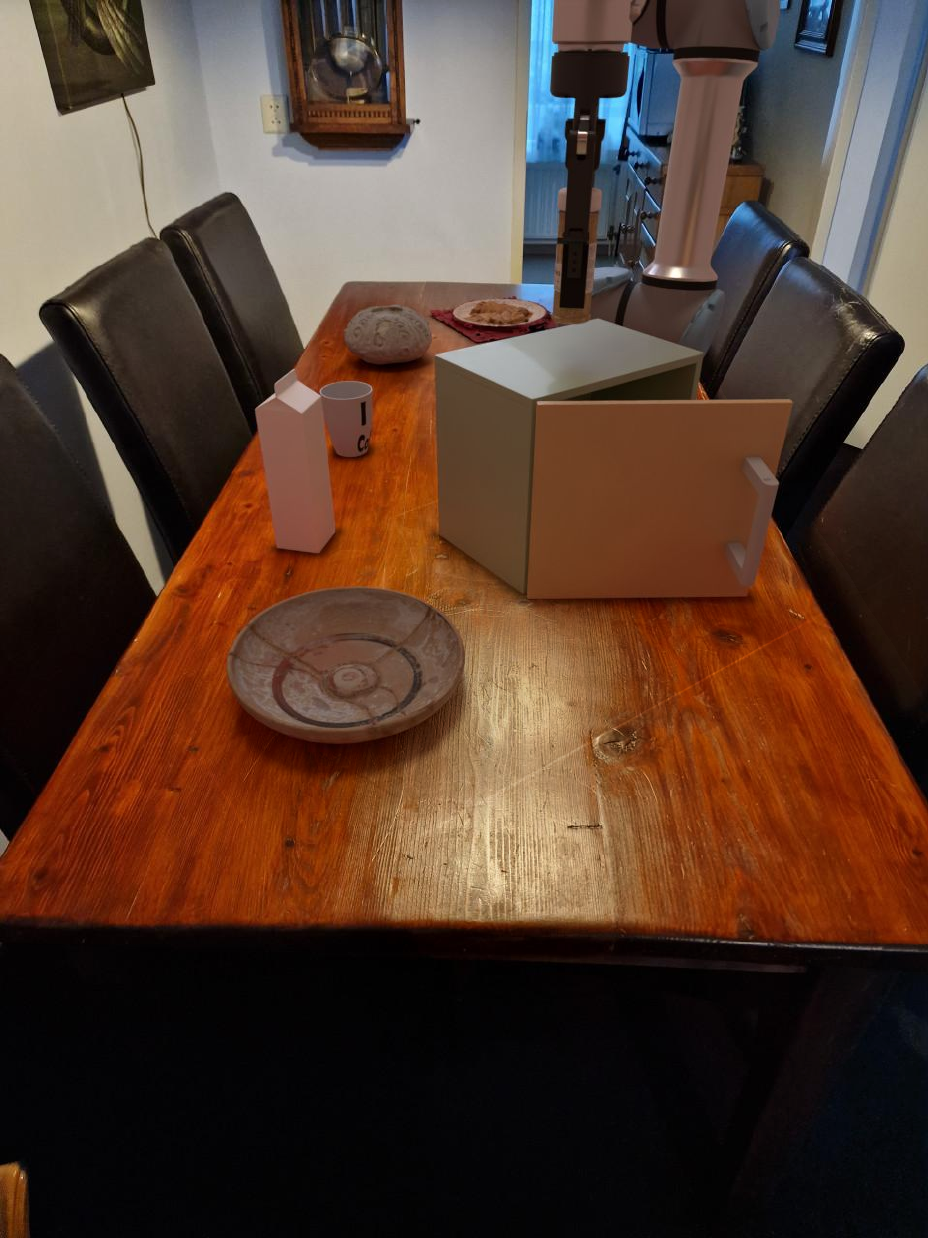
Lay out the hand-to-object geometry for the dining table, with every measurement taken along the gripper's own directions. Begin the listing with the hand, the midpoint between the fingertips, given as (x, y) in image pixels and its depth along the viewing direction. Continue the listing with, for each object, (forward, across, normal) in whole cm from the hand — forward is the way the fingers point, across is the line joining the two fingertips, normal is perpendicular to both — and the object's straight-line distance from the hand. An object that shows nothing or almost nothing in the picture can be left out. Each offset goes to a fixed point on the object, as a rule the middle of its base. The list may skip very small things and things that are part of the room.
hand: (573, 300), depth 92 cm
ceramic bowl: (+30, -35, +18) cm, 50 cm away
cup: (+30, +22, +35) cm, 51 cm away
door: (+30, -17, -11) cm, 36 cm away
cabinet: (+30, 0, 0) cm, 30 cm away
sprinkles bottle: (+2, 0, 0) cm, 2 cm away
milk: (+30, -7, +32) cm, 45 cm away
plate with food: (+30, +99, +21) cm, 106 cm away
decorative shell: (+30, +68, +40) cm, 84 cm away
